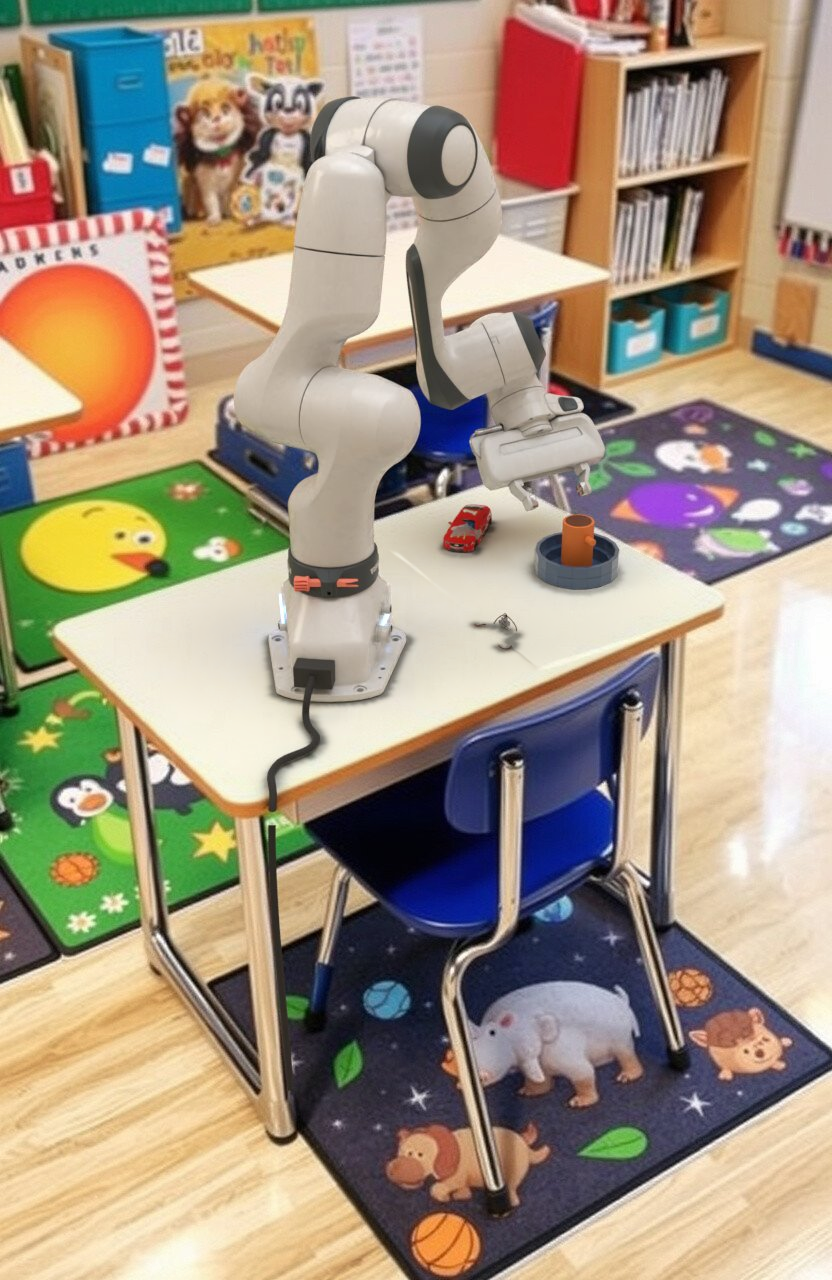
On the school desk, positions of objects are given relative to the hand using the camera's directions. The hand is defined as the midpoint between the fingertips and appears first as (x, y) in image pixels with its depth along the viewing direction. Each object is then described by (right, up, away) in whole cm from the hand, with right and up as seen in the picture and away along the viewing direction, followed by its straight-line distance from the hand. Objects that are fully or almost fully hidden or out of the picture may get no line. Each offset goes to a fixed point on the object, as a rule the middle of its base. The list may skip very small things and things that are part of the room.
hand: (559, 501), depth 206 cm
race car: (-13, -5, +12) cm, 18 cm away
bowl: (+3, -10, +1) cm, 11 cm away
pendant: (-10, -20, -14) cm, 26 cm away
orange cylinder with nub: (+3, -10, +1) cm, 10 cm away
